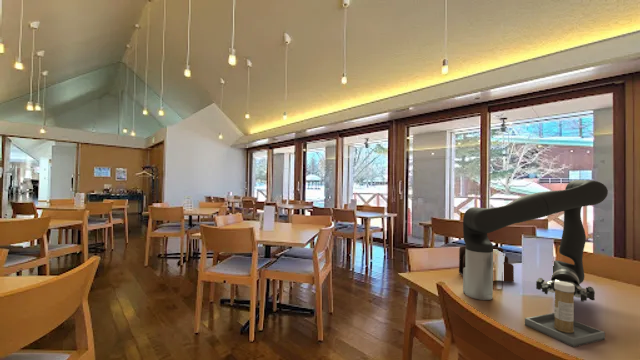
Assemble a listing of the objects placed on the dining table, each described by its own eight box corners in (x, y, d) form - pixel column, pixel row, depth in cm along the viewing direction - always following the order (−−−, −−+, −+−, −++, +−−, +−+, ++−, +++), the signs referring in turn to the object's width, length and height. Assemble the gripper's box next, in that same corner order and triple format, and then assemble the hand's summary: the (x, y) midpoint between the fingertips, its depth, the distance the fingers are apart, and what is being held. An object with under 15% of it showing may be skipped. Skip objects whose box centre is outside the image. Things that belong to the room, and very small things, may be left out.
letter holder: (458, 273, 143) (458, 244, 143) (502, 275, 141) (502, 245, 141) (466, 280, 133) (467, 248, 133) (514, 282, 131) (514, 250, 131)
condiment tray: (524, 324, 90) (524, 318, 90) (554, 319, 94) (554, 312, 95) (573, 347, 78) (574, 339, 78) (604, 339, 82) (604, 332, 82)
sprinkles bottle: (554, 324, 89) (555, 279, 90) (574, 330, 86) (575, 283, 86) (552, 330, 86) (553, 282, 86) (573, 335, 83) (574, 286, 83)
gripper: (539, 266, 108) (534, 276, 95) (593, 275, 99) (595, 287, 86) (539, 287, 108) (534, 300, 95) (593, 298, 98) (595, 313, 86)
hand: (563, 294), depth 91 cm, fingers open, 8 cm apart
